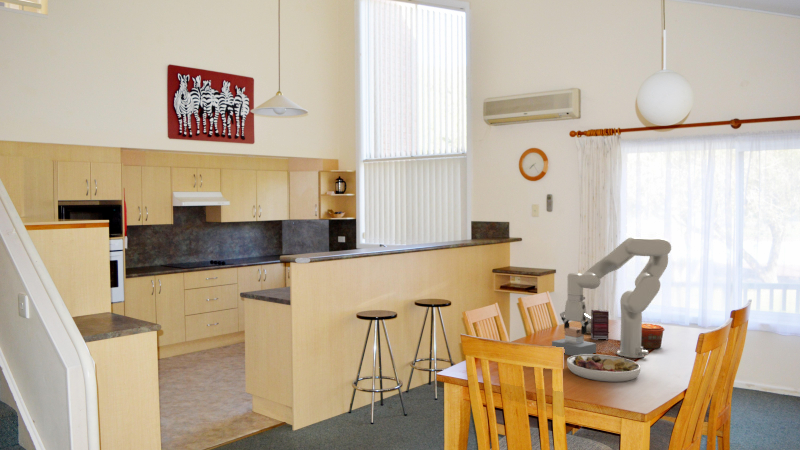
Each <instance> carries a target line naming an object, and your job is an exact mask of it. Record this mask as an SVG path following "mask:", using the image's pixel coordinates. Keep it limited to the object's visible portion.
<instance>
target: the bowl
mask: <svg viewBox="0 0 800 450" xmlns="http://www.w3.org/2000/svg"><path fill="white" fill-rule="evenodd" d="M566 365H567V368H568V369H569V371H570V372H571V373H573V374H574V375H576V376H578V377H581V378H584V379H588V380H592V381H593V380H594V381H599V382H609V383H610V382H611V383H618V382H619V383H621V382H627V381H631V380H634V379H636V378H637V377H638V376H639V375H640V373H641V365H640V364H639V363H638V362H636V361H634V360H631V359H627V358H626V357H621V356H614V355H608V354H607V355H606V354H598V353H596V354H583V355H575V356H571V355H570V356H569V357H567V359H566Z"/></svg>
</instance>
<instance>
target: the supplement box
mask: <svg viewBox="0 0 800 450" xmlns="http://www.w3.org/2000/svg"><path fill="white" fill-rule="evenodd" d="M590 313H591V314H590V317H591V333H590V338H591V339H592V340H598V339H606V340H605V341H608V340H609V334H610V332H609V329H610V328H609V317H610V316H609V315H610V313H609V310H607V309H591V311H590ZM598 341H599V340H598Z"/></svg>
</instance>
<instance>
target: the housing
mask: <svg viewBox="0 0 800 450" xmlns="http://www.w3.org/2000/svg"><path fill="white" fill-rule="evenodd" d="M564 339H565V342H567V343H572V344H580V343H584V341H585V334H581V327H577V326H569V327H568V328H565V329H564Z"/></svg>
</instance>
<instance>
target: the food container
mask: <svg viewBox="0 0 800 450" xmlns="http://www.w3.org/2000/svg"><path fill="white" fill-rule="evenodd" d="M664 331H665V328H664V327H663V326H661V325H658V324H653V323H642V334H641V347H643V349H647V348H649V349H650V350H656V349H660V348H662V341H663V334H664Z"/></svg>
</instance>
